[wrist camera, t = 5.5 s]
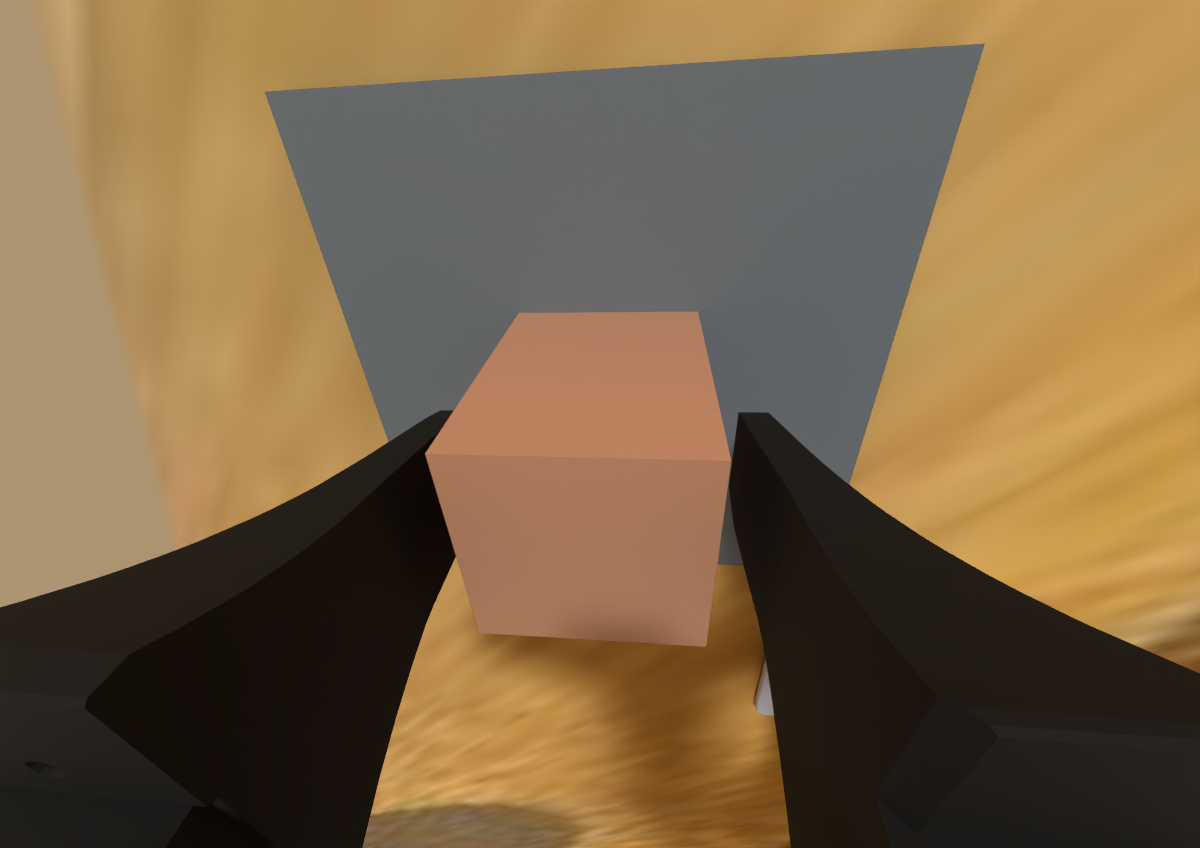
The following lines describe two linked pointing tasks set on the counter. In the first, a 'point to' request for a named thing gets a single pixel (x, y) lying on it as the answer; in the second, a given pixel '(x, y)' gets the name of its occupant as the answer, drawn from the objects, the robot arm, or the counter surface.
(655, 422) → the block
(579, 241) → the mat
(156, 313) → the counter surface
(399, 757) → the counter surface
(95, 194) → the counter surface
